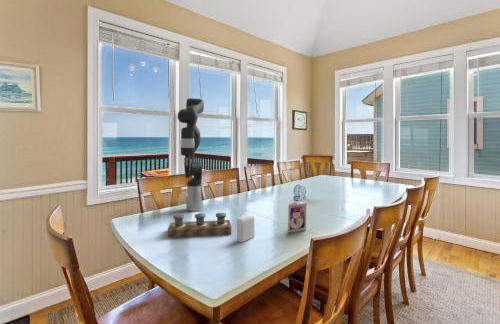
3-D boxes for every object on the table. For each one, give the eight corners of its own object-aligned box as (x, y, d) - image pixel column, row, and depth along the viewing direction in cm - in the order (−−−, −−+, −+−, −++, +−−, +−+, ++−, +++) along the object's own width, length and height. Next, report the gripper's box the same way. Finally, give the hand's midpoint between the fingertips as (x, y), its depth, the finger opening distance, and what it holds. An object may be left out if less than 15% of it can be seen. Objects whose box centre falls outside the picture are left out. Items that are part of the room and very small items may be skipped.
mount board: (167, 238, 133) (167, 229, 133) (170, 229, 145) (170, 222, 144) (231, 234, 138) (231, 226, 138) (229, 226, 150) (229, 219, 150)
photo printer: (242, 243, 127) (242, 217, 126) (235, 240, 130) (235, 216, 129) (255, 237, 135) (255, 213, 134) (249, 235, 138) (249, 211, 137)
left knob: (172, 227, 136) (172, 217, 136) (173, 223, 142) (173, 214, 141) (184, 226, 137) (183, 217, 137) (184, 223, 143) (184, 214, 142)
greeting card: (288, 233, 141) (289, 205, 139) (281, 228, 148) (282, 202, 146) (306, 230, 145) (307, 203, 144) (299, 226, 152) (299, 200, 151)
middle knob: (194, 226, 138) (194, 216, 138) (195, 222, 143) (194, 213, 143) (205, 225, 139) (205, 216, 138) (205, 222, 144) (205, 213, 144)
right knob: (215, 225, 140) (215, 215, 139) (215, 221, 145) (215, 212, 145) (226, 224, 141) (226, 215, 140) (225, 221, 146) (225, 212, 146)
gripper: (193, 147, 142) (193, 179, 144) (195, 145, 155) (195, 175, 157) (179, 147, 140) (179, 179, 143) (182, 145, 153) (182, 175, 156)
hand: (187, 177), depth 150 cm, fingers closed
